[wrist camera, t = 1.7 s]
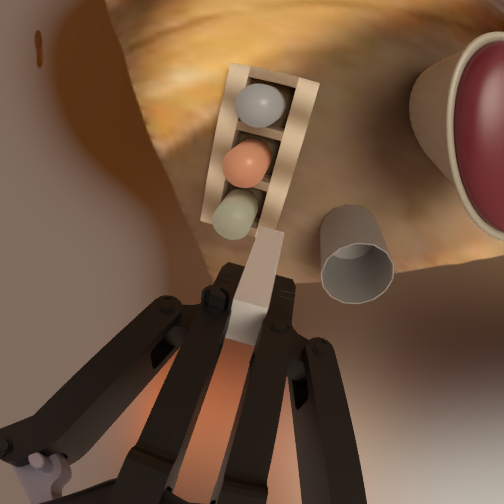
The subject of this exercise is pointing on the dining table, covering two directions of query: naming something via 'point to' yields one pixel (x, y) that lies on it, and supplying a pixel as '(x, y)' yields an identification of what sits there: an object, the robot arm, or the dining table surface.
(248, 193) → the pale green egg
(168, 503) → the robot arm
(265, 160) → the brown egg
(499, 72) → the canister
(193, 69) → the dining table surface
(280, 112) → the grey egg
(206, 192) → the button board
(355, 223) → the cup
